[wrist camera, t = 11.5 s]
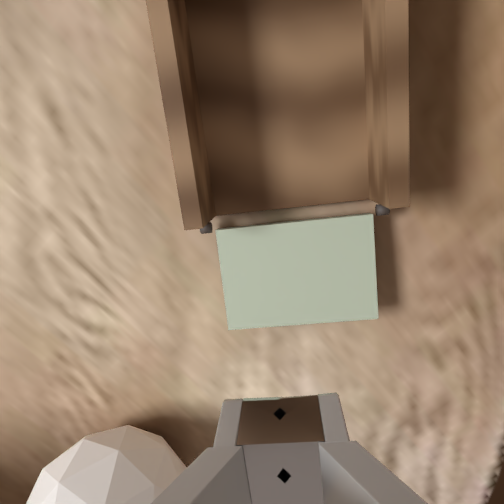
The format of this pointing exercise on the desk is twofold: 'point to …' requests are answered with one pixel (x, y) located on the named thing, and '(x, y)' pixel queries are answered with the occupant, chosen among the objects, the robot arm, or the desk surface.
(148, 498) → the geodesic sphere
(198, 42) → the crate
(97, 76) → the desk surface
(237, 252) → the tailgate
